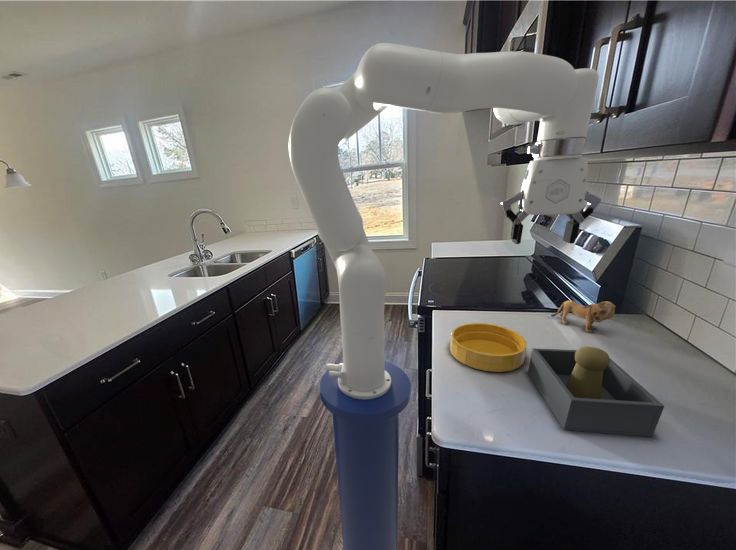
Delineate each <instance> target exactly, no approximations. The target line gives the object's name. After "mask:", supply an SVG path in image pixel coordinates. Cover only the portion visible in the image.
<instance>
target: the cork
mask: <svg viewBox="0 0 736 550" xmlns="http://www.w3.org/2000/svg"><path fill="white" fill-rule="evenodd" d="M576 350H577V351H576V352H575V361H576V362H577V363H576V365H575V367H574V369H573V371H572V373H571V376H570V378H569V380H568V382H567V384H566V387H567V389H568V390H569V391H570V393H571V394H572V395H573V396H574V398H588V399H601V389H602V379H603V370H604V369H606V368H607V366H608V365H609V363H610V359H611V357H610V355H609V354H608V353H607V352H606V351H604V350H603V349H601V348H600V347H599V348H598V347H596V346H587V345H586V346H580V347H579V348H578V349H576Z"/></svg>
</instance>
